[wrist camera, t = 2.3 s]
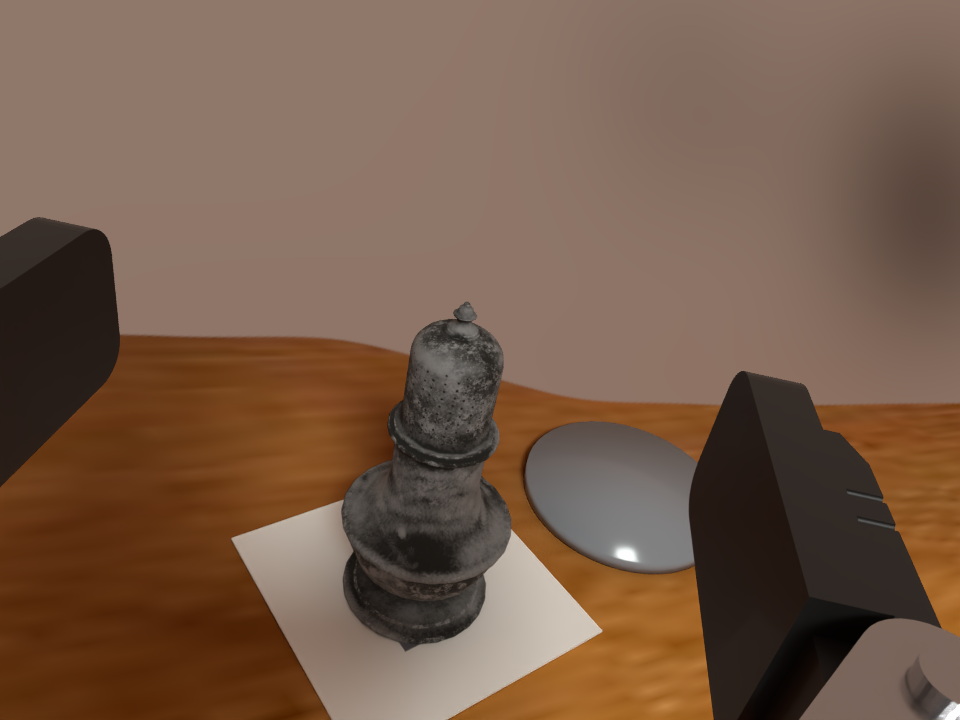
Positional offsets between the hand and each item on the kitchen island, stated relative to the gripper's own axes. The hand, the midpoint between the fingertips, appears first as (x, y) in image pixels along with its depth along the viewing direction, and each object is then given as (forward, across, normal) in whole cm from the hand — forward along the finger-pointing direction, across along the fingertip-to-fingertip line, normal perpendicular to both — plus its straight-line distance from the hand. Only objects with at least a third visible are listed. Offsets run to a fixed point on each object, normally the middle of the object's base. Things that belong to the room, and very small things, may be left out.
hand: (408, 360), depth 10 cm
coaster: (+19, -8, +17) cm, 27 cm away
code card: (+11, 0, +17) cm, 21 cm away
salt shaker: (+11, 0, +17) cm, 21 cm away
